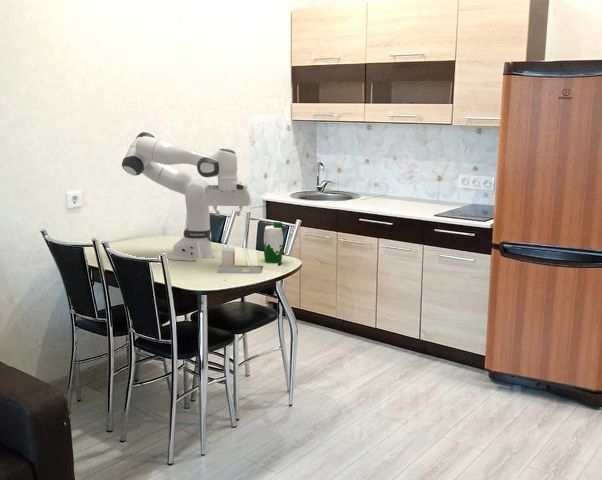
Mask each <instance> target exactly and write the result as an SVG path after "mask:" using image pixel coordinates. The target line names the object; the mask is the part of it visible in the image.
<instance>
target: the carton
mask: <svg viewBox="0 0 602 480" xmlns="http://www.w3.org/2000/svg"><path fill="white" fill-rule="evenodd" d="M235 262H236V253H235V247H234V246H233V247H231V246H230V247H229V246H228V247H227V246H226V247H225V246H224V247H223V248H222V249H221V265H222V267H234V266H235V264H236V263H235Z"/></svg>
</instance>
